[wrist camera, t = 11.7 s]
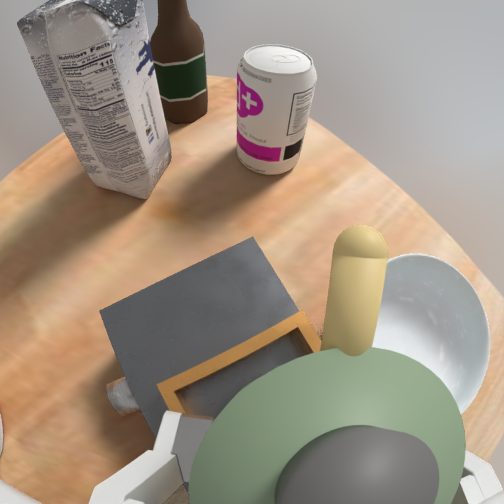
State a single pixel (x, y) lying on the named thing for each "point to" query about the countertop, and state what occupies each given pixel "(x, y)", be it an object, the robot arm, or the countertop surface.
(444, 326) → the cereal bowl
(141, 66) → the juice carton
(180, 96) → the beer bottle
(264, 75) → the supplement can
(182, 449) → the robot arm
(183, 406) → the box
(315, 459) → the oil can
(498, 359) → the countertop surface
